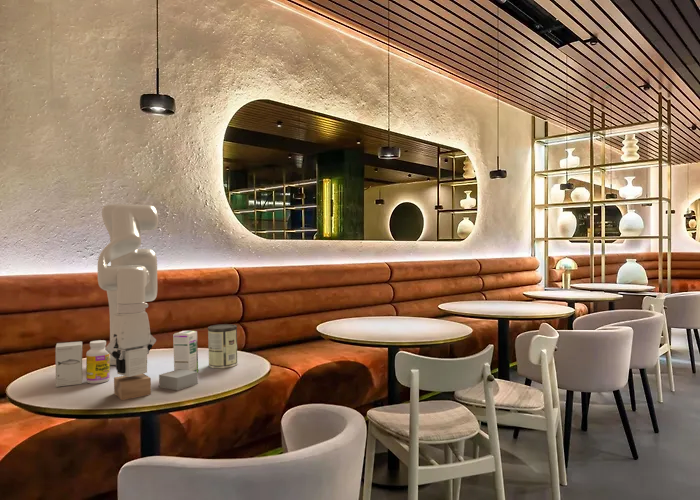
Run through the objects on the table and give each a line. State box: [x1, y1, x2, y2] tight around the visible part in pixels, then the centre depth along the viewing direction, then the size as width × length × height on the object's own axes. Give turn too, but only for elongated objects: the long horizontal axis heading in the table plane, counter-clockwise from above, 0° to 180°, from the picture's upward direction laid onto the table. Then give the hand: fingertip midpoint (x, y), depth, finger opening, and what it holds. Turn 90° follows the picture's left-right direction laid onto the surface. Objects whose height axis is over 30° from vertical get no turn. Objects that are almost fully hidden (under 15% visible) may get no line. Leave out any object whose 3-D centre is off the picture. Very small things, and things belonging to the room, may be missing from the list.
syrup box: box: [172, 330, 199, 373], centre depth 164 cm, size 6×6×14 cm
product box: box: [116, 347, 148, 377], centre depth 143 cm, size 6×6×7 cm
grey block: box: [158, 369, 199, 391], centre depth 152 cm, size 8×8×4 cm
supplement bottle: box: [85, 339, 111, 384], centre depth 157 cm, size 7×7×13 cm
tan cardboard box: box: [113, 373, 152, 401], centre depth 143 cm, size 8×8×5 cm
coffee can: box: [207, 323, 238, 369], centre depth 177 cm, size 10×10×14 cm
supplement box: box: [55, 341, 83, 388], centre depth 155 cm, size 7×7×13 cm
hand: (132, 369), depth 143 cm, fingers closed on product box, 6 cm apart
